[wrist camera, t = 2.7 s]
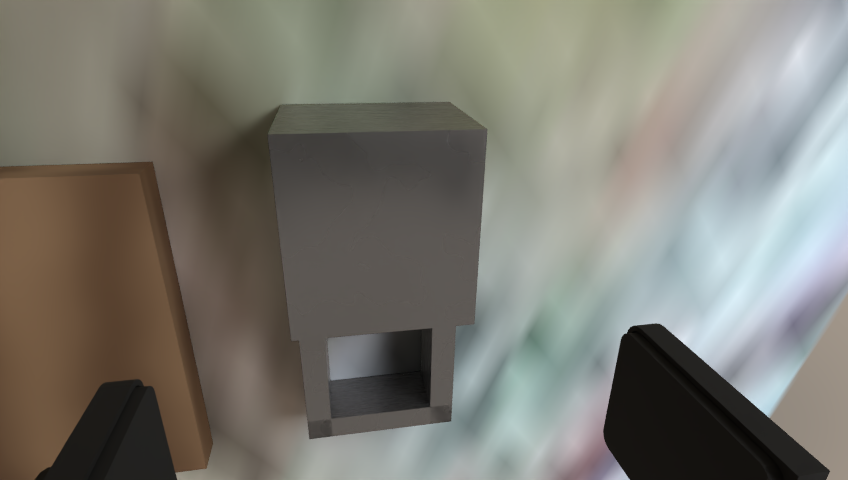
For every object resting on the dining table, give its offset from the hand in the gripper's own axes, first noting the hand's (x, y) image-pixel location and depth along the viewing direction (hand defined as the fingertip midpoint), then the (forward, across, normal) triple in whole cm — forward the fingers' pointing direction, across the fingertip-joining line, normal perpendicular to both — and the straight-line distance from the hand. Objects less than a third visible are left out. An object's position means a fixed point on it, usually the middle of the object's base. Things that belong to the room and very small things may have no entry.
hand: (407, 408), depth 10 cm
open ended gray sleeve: (+12, 0, +3) cm, 12 cm away
